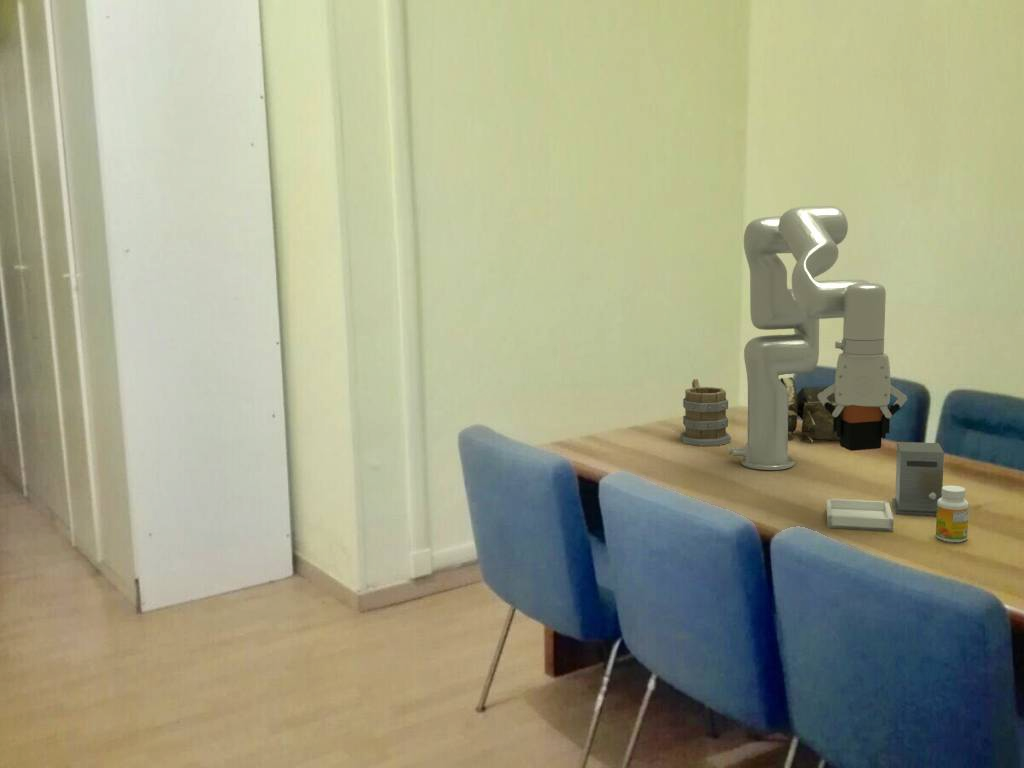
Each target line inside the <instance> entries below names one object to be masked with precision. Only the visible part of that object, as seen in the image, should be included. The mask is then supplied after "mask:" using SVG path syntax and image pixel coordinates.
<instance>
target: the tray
mask: <svg viewBox="0 0 1024 768" xmlns="http://www.w3.org/2000/svg"><path fill="white" fill-rule="evenodd" d="M825 507H826V511H825V512H826V523H827V529H840V530H854V531H855V530H856V531H874V532H875V531H876V532H891V531H892V532H894V523H895V522H894V521H895V520H894V516H893V512H892V510H891V506H890V502H889V501H885V500H867V499H866V500H865V499H864V500H863V499H843V498H839V499H838V498H826V506H825Z"/></svg>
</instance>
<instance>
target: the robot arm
mask: <svg viewBox="0 0 1024 768" xmlns="http://www.w3.org/2000/svg"><path fill="white" fill-rule="evenodd" d="M848 231H849V224H848V219H847V216H846V215H845V213H844V212H843V210H842V209H840V208H839V207H837V206H832V205H821V206H820V205H819V206H797V207H792V208H790V209H788V210H786V211H785V212H784V213H782V215H779V216H767V217H760V218H756V219H754V220H752V221H750V222H749V223H748V225H746V227H745V230H744V234H743V250H744V254H745V258H746V260H747V261H746V262H747V264H748V268H749V278H750V279H749V280H750V281H749V284H750V285H749V294H750V295H749V302H750V303H749V304H750V305H749V306H750V307H749V308H750V309H749V312H750V319H751V320H750V321H751V324H752V326H753V327H755V328H756V329H758V330H764V331H767V330H770V331H772V330H774V331H775V330H790V329H791V330H792V329H793V330H794V331H793V332H794V333H792V334H771V335H770V334H769V335H760V336H757V337H753V338H751V339H750V340H749V341H747V342H746V344H745V347H744V348H743V349H744V350H743V359H744V364H745V370H746V380H747V442H746V443H745V444H746V445H742V446H732V445H731V446H728V454H729V455H733V456H735V457H736V456H741V458H740V464H741V465H742V466H744V467H745V468H749V469H755V470H762V471H780V470H781V471H782V470H786V469H790V468H792V467H793V466H795V459H794V458H793V457H791V456H789V453H788V452H789V449H788V447H789V432H788V391H787V389H786V387H785V386H784V384H783V383H782V382H781V381H780V379H781V378H780V377H779V376H782V375H792V374H793V375H794V374H795V375H796V374H807V373H811V372H812V371H814V370H815V369H816V367H817V365H818V363H819V357H820V356H819V355H820V320H824V319H842V318H843V325H842V327H843V329H842V330H843V331H842V339H841V340H839V341H834V348H835V349H838V350H841V351H842V352H840V353H839V354H838V358H837V361H836V368H835V377H834V383H833V384H831V385H829V386H830V387H828V386H827V387H828V388H827V389H825V390H824V391H822V392H821V393H819V394H818V399H819V400H820V402H821V403H822V404H823V406H824V407H825V408H826V409H827V410H828V411H829V412H830V413H831V414H832V415H833V432H836V434H837V437H840V436H841V415H840V412H841V411H842V409H843V408H844V407H845V406H850V405H856V406H861V407H880V409H881V410H882V431H881V437H882V439H886V437H887V436H886V434H890V423H891V422H890V421H891V418H892V417H893V415H895V414H896V413H897V412H898V411H899V410H900V409H901V407H902V406H903V405H904V404H905V403H906V402H907V401H908V397H907V395H906V394H904V393H903V392H901V390H899V389H897V388H895V387H894V385H892V384H891V367H890V361H889V355H888V354H887V353H885V329H886V327H885V326H886V295H887V292H886V289H885V287H884V285H882V284H880V283H874V282H872V283H871V282H869V281H868V280H864V279H836V280H835V279H834V280H831V279H830V280H816V279H815V278H817V277H818V276H820V275H822V274H824V273H826V272H827V271H829V270H830V269H831V268H832V267H834V265H835V264H836V262H837V261H838V258H839V248H838V245H840V244H841V243H842V242H843V241H845V239H846V237H847V235H848ZM778 254H792V256H793V258H794V259H795V261H796V262H795V266H794V268H793V269H792V273H791V274H792V275H791V288H788V271H787V267H786V265H785V263H784V262H783V260H782V259H781V258H780V256H779V255H778ZM834 392H835V402H836V403H837V404H836V405H835V407H834V406H833V405H832V404H831V403H830V402H829V401H828V400H827V397H828V396H829V395H831V394H832V393H834ZM891 395H892V396H894V397H895V398H896V401H895V402H894V403H893V404H891V405H890V406H889V407H888V405H889V404H890V402H891Z"/></svg>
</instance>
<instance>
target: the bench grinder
mask: <svg viewBox="0 0 1024 768" xmlns="http://www.w3.org/2000/svg"><path fill="white" fill-rule="evenodd" d="M779 379H780V381H781V382H782V383H783V384H784V386H785V387H786V389H787V391H788V433H791V435H793V434H794V432H796V430H797V424H798V417H799V418H800V419H801V420H802V424H801V432H800V441H803V440H809V441H808V442H811V443H814V442H817V441H818V440H820V441H821V440H822V442H823V440H840V437H837V434H836V432H833V415H832V414H831V413H830V412H829V411H828V410H827V409H826V408H825V407H824V406H823V404H822V403H821V402H820V400H819V399H818V394H819V393H821V392H822V391H824V390H825V389H827V388H828V387H830V386H831V385H827V386H806V387H805V386H804V387H802V388H801V389H800V390H799V391H798V393H797V388H796V383H795V380H794V378H793V377H792V376H791V377H781V378H779ZM827 400H828V401H829V402H830V403H831V404H832V405H833V406H834V407H835V405H836V404H837V403H836V402H835V392H834V393H832V394H831V395H829V396H828V397H827ZM840 415H841V412H840ZM810 440H811V441H810ZM813 440H815V441H813ZM816 440H817V441H816ZM820 441H818V442H820Z"/></svg>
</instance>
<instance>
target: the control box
mask: <svg viewBox="0 0 1024 768" xmlns="http://www.w3.org/2000/svg"><path fill="white" fill-rule="evenodd" d="M944 456H945V452H944V450H943V448H942V446H941V445H940V443H939V442H917V441H916V442H913V441H912V442H909V441H907V442H906V441H897V443H896V468H895V469H896V471H895V495H894V496H895V497H894V498H891V502H892V506H893V510H894V513H895V514H896V515H904V514H905V515H906V516H907V514H908V516H910V515H911V516H924V515H928V517H937V501H938V499H939V498H941V497H943V496H942V487H943V486H944V485H943V483H944V482H943V481H944V464H945V463H944V459H945V457H944ZM905 515H904V516H905Z"/></svg>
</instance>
